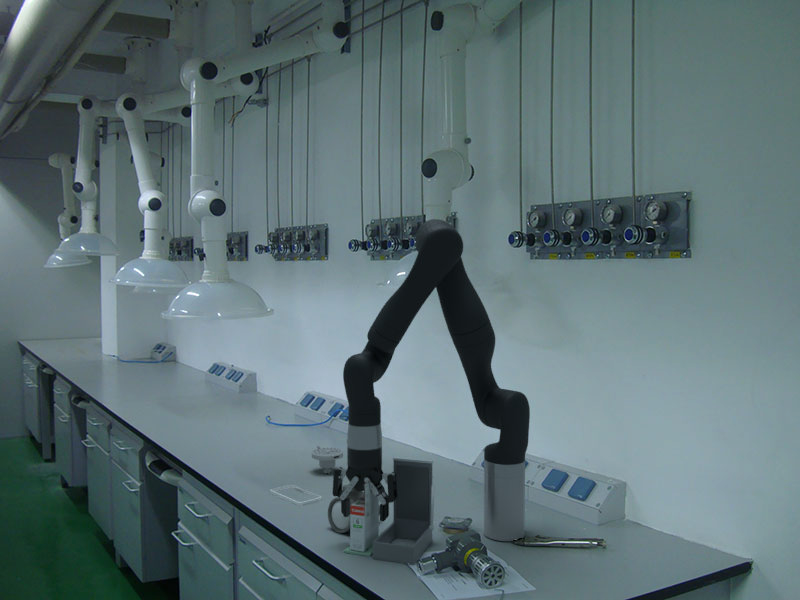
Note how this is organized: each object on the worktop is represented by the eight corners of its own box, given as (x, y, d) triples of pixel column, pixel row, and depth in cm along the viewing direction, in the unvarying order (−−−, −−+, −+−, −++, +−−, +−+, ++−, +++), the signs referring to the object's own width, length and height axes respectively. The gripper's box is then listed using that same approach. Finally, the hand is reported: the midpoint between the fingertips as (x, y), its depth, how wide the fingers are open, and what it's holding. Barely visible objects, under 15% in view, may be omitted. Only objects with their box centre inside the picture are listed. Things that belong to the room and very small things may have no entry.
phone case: (269, 494, 186) (299, 508, 175) (269, 489, 186) (299, 502, 175) (291, 489, 191) (322, 501, 180) (291, 484, 191) (322, 496, 180)
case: (393, 535, 154) (393, 457, 154) (435, 541, 151) (435, 460, 151) (372, 558, 142) (372, 473, 141) (417, 565, 138) (417, 477, 138)
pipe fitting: (349, 536, 153) (350, 489, 154) (325, 530, 158) (326, 485, 159) (386, 528, 162) (386, 484, 163) (362, 523, 167) (363, 480, 168)
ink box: (349, 550, 145) (349, 482, 145) (364, 537, 152) (364, 472, 152) (365, 552, 144) (364, 484, 143) (379, 539, 151) (379, 474, 151)
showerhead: (330, 443, 213) (349, 449, 205) (330, 466, 213) (349, 472, 205) (304, 448, 206) (323, 454, 199) (304, 471, 207) (323, 478, 199)
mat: (359, 537, 153) (359, 535, 153) (384, 540, 151) (384, 539, 151) (343, 552, 145) (343, 550, 145) (370, 556, 143) (370, 554, 143)
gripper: (401, 442, 149) (401, 516, 149) (341, 438, 153) (341, 509, 154) (389, 450, 142) (389, 527, 142) (327, 445, 146) (327, 520, 147)
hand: (364, 518), depth 148 cm, fingers open, 8 cm apart
